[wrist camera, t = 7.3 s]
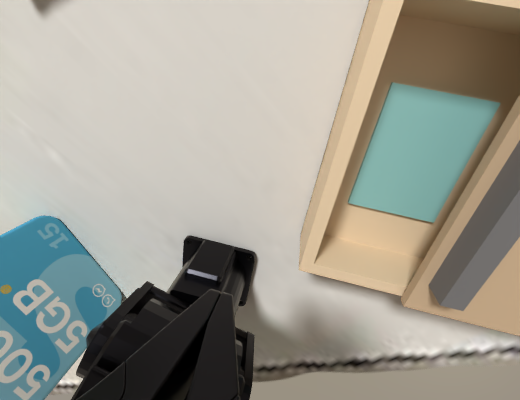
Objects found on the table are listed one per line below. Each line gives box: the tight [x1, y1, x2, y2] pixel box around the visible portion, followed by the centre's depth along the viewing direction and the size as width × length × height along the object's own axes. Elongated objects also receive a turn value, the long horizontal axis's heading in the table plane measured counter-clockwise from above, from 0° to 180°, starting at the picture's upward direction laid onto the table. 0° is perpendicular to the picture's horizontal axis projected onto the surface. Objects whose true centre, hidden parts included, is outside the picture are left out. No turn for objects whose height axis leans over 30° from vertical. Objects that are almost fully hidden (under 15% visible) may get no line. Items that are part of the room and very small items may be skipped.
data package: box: [0, 216, 122, 400], centre depth 22 cm, size 12×4×12 cm, turn 27°
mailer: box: [299, 0, 520, 296], centre depth 15 cm, size 16×13×4 cm
